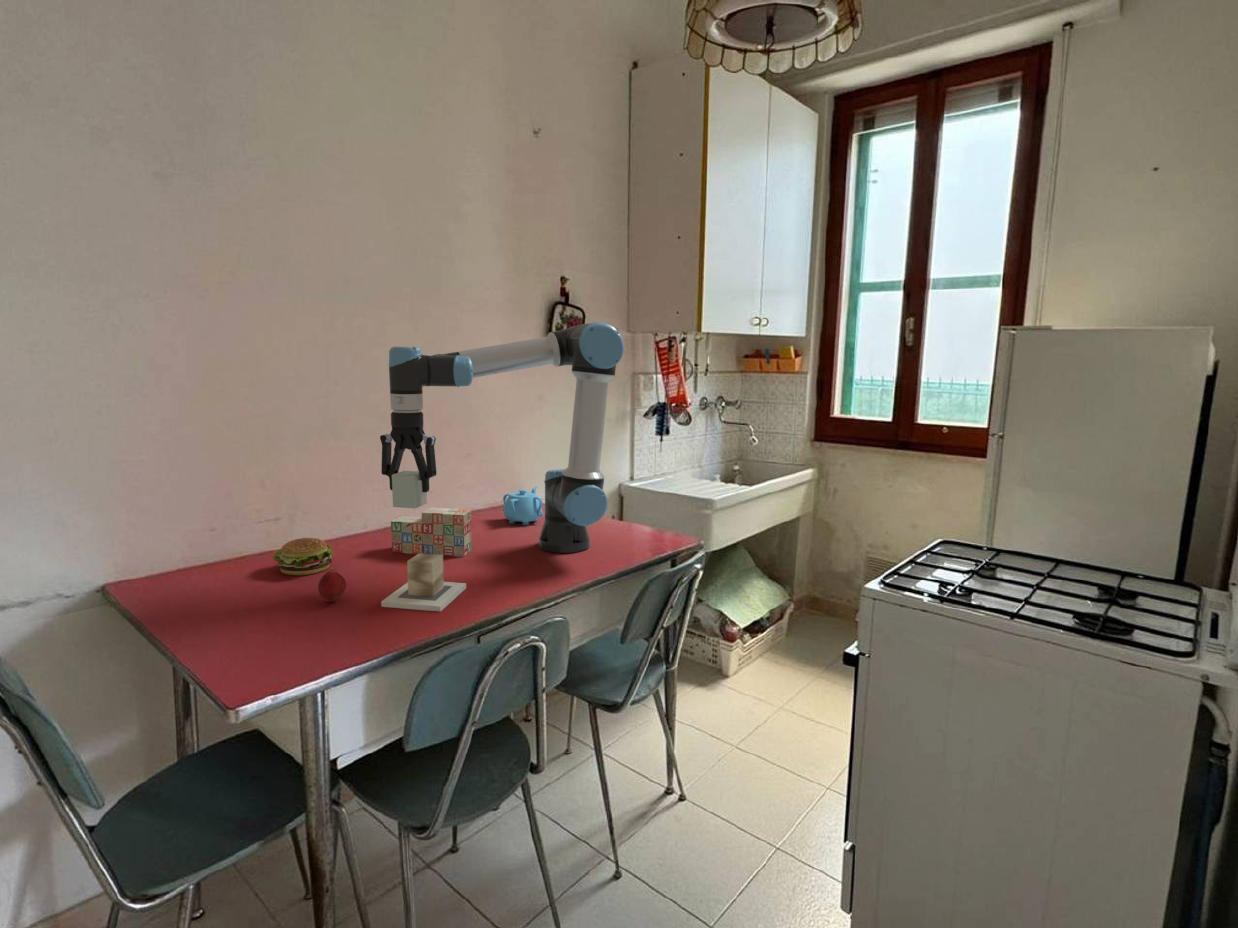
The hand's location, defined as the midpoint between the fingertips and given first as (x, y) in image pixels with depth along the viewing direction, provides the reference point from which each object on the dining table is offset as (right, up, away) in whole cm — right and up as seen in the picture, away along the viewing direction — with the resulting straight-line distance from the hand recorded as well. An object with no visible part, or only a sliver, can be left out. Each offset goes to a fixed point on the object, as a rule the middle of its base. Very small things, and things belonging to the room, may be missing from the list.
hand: (410, 503), depth 167 cm
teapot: (+20, -10, +60) cm, 64 cm away
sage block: (0, 0, 0) cm, 0 cm away
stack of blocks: (-1, -15, +25) cm, 29 cm away
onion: (-13, -22, -14) cm, 29 cm away
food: (-30, -18, +7) cm, 36 cm away
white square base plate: (+7, -21, -10) cm, 24 cm away
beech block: (+7, -20, -10) cm, 23 cm away
